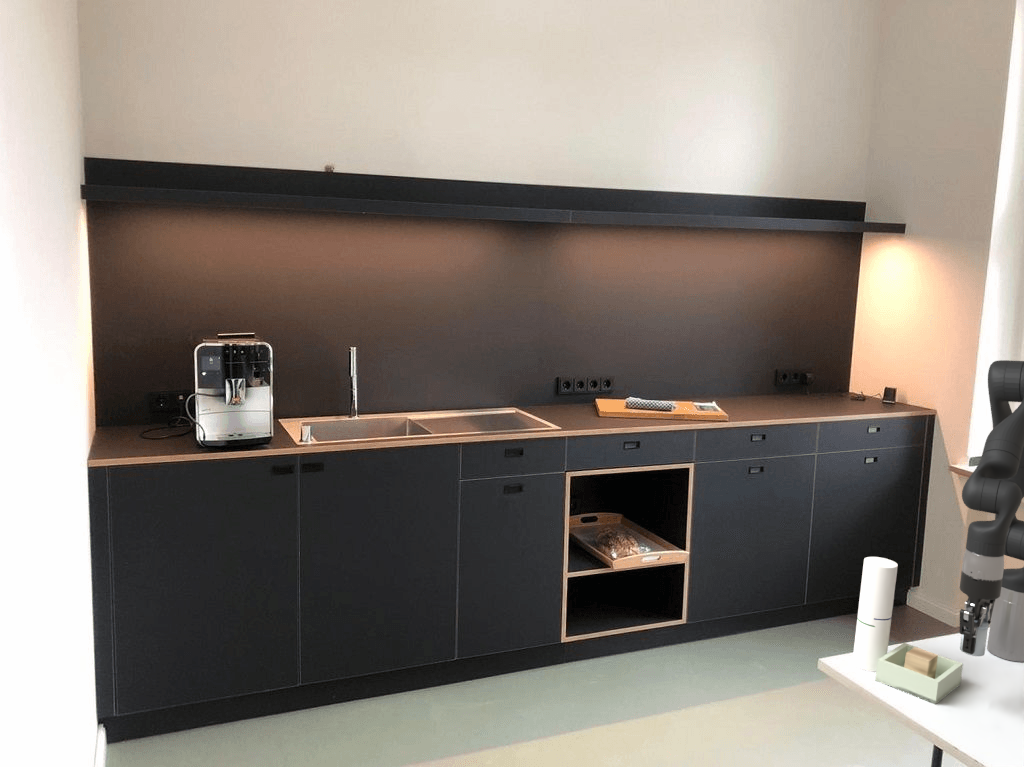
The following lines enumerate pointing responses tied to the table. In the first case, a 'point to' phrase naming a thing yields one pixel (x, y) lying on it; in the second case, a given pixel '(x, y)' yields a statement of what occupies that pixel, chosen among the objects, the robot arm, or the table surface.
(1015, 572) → the robot arm
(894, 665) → the crate
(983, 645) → the ceramic jar
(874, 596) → the cylindrical container
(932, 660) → the oak block
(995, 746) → the table surface
